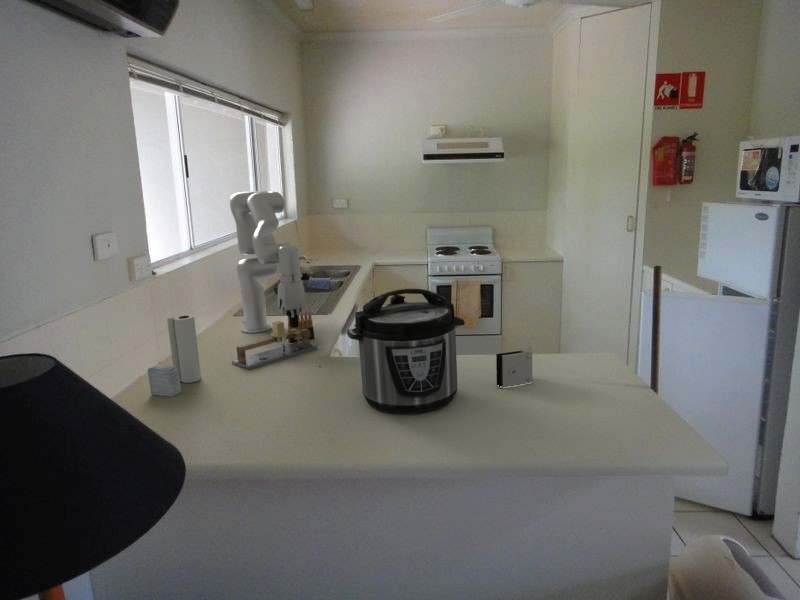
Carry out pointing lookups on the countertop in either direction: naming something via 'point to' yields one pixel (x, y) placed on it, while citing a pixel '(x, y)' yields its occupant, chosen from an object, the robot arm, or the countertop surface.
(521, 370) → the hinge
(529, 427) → the countertop surface
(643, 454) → the countertop surface
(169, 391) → the pale blue-grey upright block
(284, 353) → the bolt-hole plate
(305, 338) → the bar
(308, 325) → the ammunition clip
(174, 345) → the paper towel roll
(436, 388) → the pressure cooker
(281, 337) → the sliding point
